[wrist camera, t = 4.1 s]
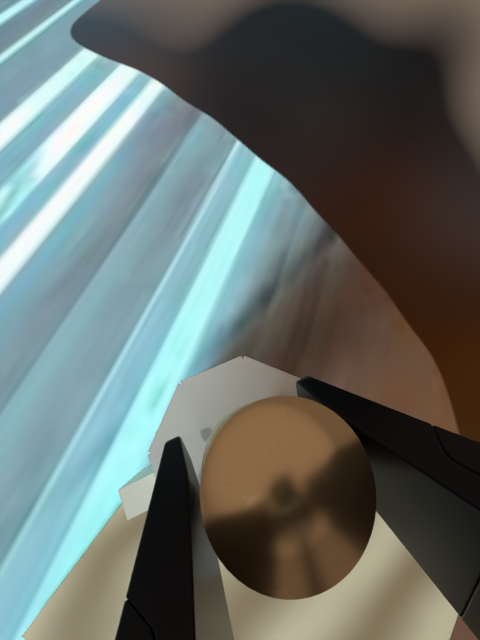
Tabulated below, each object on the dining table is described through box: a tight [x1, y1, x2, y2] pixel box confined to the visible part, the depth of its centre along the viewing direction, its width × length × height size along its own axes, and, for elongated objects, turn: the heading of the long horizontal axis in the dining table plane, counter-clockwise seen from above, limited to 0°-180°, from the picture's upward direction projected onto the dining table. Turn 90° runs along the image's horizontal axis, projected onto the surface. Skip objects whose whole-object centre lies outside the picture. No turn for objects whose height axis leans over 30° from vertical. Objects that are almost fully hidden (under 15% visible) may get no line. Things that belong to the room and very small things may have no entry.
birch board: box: [22, 504, 458, 640], centre depth 18 cm, size 20×18×1 cm
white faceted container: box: [118, 356, 301, 520], centre depth 15 cm, size 9×8×8 cm
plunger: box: [200, 396, 376, 600], centre depth 10 cm, size 5×5×9 cm
